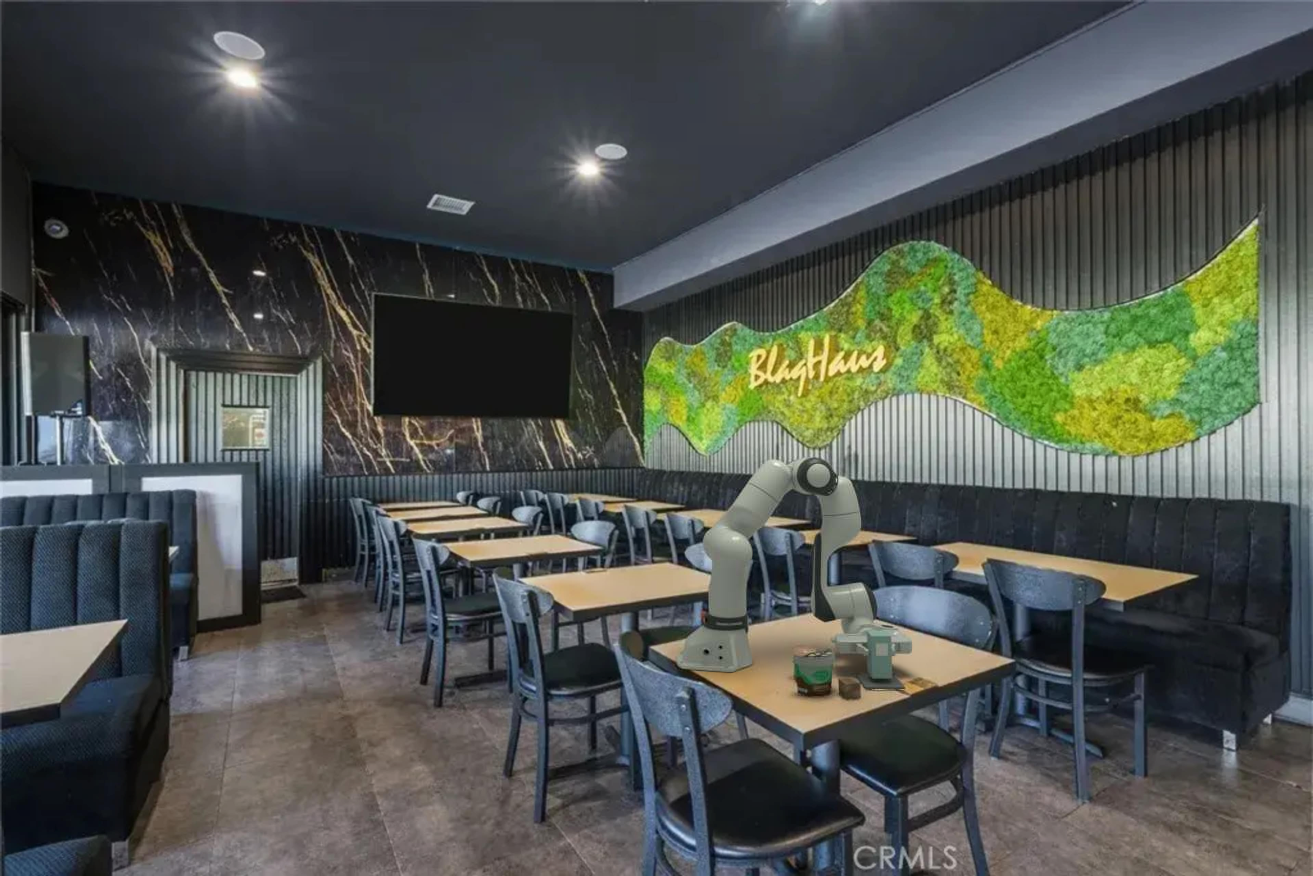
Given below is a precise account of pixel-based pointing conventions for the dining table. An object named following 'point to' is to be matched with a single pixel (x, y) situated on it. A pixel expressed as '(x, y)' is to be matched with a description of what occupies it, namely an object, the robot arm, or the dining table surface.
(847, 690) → the walnut cube
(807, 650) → the tan rounded cylinder
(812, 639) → the dining table surface
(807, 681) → the food container
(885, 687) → the mat
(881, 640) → the tall green rectangular block
